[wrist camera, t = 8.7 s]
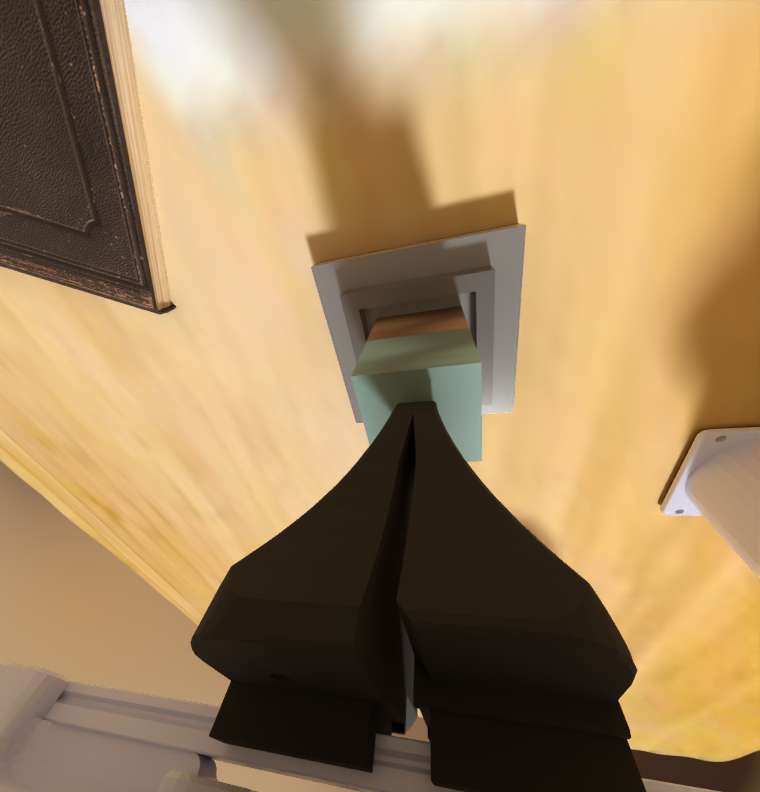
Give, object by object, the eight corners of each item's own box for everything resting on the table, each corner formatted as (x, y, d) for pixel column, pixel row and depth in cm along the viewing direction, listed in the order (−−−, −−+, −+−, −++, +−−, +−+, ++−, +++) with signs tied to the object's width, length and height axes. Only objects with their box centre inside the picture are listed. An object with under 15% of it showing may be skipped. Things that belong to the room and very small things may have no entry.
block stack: (461, 305, 14) (481, 362, 9) (464, 380, 17) (481, 460, 11) (376, 318, 15) (350, 376, 10) (390, 387, 18) (375, 464, 12)
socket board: (518, 223, 13) (533, 226, 11) (508, 401, 18) (517, 422, 17) (318, 262, 15) (303, 270, 14) (359, 412, 21) (353, 432, 19)
